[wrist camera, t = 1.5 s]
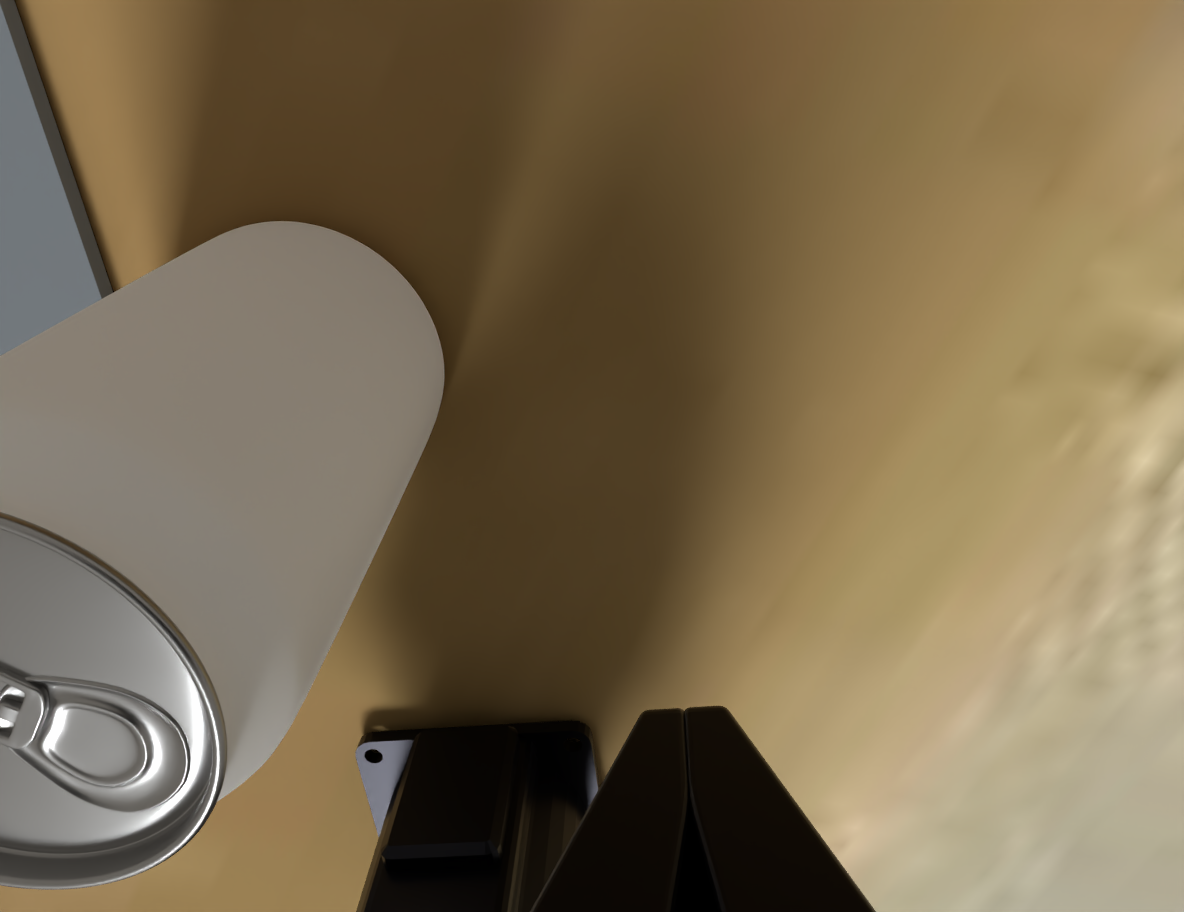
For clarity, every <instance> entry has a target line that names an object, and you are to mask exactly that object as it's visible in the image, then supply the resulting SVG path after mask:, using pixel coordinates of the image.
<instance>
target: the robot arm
mask: <svg viewBox="0 0 1184 912" xmlns="http://www.w3.org/2000/svg"><path fill="white" fill-rule="evenodd" d="M569 738H577V739H579V740H580V741H577V742H572V741H569V740H567V739H569ZM370 749H375V750H378V751H379V752H381V753H376V752H373V751H371V750H370ZM356 760H357V763H358V767H359V770H360V774H361V777H362V781H363V784H364V787H365V791H366V794H367V798H368V801H369V805H370V808H371V812H372V815H373V819H374V822H375V826H376V829H377V833H378V836H379V839H378V842H377V846H376V849H375V852H374V855H373V859H372V862H371V865H370V868H369V872H368V875H367V878H366V881H365V885H364V888H363V891H362V894H361V898H360V901H359V904H358V907H357V911H356V912H876V911H875V910H874V908H873V907H872V906H871V904H870V903H869V902H868V900H867V899H866V897H865V896H864V895H863V893H862V892H861V891H860V889H859V888H858V886H857V885H856V884H855V882H854V881H853V880H852V878H851V877H850V876H849V874H848V873H847V871H846V870H845V869H844V867H843V866H842V865H841V863H840V862H839V860H838V859H837V858H836V856H835V855H834V854H833V852H832V851H831V850H830V848H829V847H828V845H827V844H826V843H825V841H824V840H823V839H822V837H821V836H820V834H819V833H818V832H817V830H816V829H815V828H814V826H813V825H812V824H811V822H810V821H809V819H808V818H807V817H806V815H805V814H804V813H803V811H802V810H801V808H800V807H799V806H798V804H797V803H796V802H795V800H794V799H793V798H792V796H791V795H790V793H789V792H788V791H787V789H786V788H785V787H784V785H783V784H782V782H781V781H780V780H779V778H778V777H777V776H776V774H775V773H774V772H773V770H772V769H771V767H770V766H769V765H768V763H767V762H766V761H765V759H764V758H763V756H762V755H761V754H760V752H759V751H758V750H757V748H756V747H755V746H754V744H753V743H752V741H751V740H750V739H749V737H748V736H747V735H746V733H745V732H744V730H743V729H742V728H741V726H740V725H739V724H738V722H737V721H736V720H735V718H734V717H733V715H732V714H731V713H730V712H729V710H728V709H727V708H725V707H723V706H707V707H690V708H687V709H686V710H685V711H683V710H682V709H680V708H672V709H655V710H646V711H644V712H643V713H642V714H641V715H640V717H639V718H638V720H637V722H636V723H635V725H634V727H633V729H632V731H631V732H630V734H629V736H628V738H627V739H626V741H625V743H624V745H623V747H622V748H621V750H620V752H619V754H618V756H617V757H616V759H615V761H614V763H613V764H612V766H611V768H610V770H609V772H608V773H607V775H606V777H605V779H604V781H603V782H602V784H601V786H600V785H599V778H598V771H597V764H596V757H595V750H594V743H593V737H592V732H591V730H590V728H589V727H588V726H587V725H586V724H584V723H582V722H580V721H573V720H569V721H552V722H535V723H518V724H501V725H484V726H467V727H449V728H432V729H415V730H398V731H381V732H371V733H367V734H365V735H364V736H362V738H361V740H360V742H359V744H358V747H357V750H356Z"/></svg>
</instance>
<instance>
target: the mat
mask: <svg viewBox="0 0 1184 912" xmlns="http://www.w3.org/2000/svg"><path fill="white" fill-rule="evenodd" d="M112 293H113V291H112V288H111V285H110V282H109V279H108V276H107V273H106V270H105V267H104V264H103V261H102V258H101V255H100V252H99V249H98V246H97V243H96V240H95V237H94V234H93V231H92V229H91V226H90V223H89V220H88V217H87V214H86V211H85V208H84V205H83V202H82V199H81V196H80V193H79V190H78V187H77V184H76V181H75V178H74V175H73V172H72V169H71V166H70V163H69V160H68V158H67V155H66V152H65V149H64V146H63V143H62V140H61V137H60V134H59V131H58V128H57V125H56V122H55V119H54V116H53V113H52V110H51V107H50V104H49V101H48V98H47V95H46V92H45V89H44V87H43V84H42V81H41V78H40V75H39V72H38V69H37V66H36V63H35V60H34V57H33V54H32V51H31V48H30V45H29V42H28V39H27V36H26V33H25V30H24V27H23V24H22V21H21V19H20V16H19V13H18V10H17V7H16V4H15V1H14V0H0V356H1V355H3V354H5V353H6V352H8V351H10V350H12V349H13V348H15V347H17V346H19V345H21V344H22V343H24V342H26V341H28V340H29V339H31V338H33V337H35V336H37V335H38V334H40V333H42V332H44V331H45V330H47V329H49V328H51V327H53V326H54V325H56V324H58V323H60V322H62V321H63V320H65V319H67V318H69V317H70V316H72V315H74V314H76V313H78V312H79V311H81V310H83V309H85V308H87V307H88V306H90V305H92V304H94V303H95V302H97V301H99V300H101V299H103V298H104V297H106V296H108V295H110V294H112Z"/></svg>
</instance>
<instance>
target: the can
mask: <svg viewBox="0 0 1184 912" xmlns="http://www.w3.org/2000/svg"><path fill="white" fill-rule="evenodd" d="M443 389H444V360H443V353H442V348H441V344H440V340H439V337H438V334H437V331H436V328H435V326H434V323H433V321H432V319H431V316H430V314H429V312H428V310H427V309H426V307H425V305H424V303H423V302H422V300H421V299H420V297H419V296H418V294H417V293H416V291H415V290H414V289H413V287H412V286H411V285H410V284H409V282H408V281H407V280H406V279H405V278H404V277H403V276H402V275H401V274H400V273H399V272H398V270H397V269H395V268H394V267H393V266H392V265H391V264H390V263H389V262H388V261H386V260H385V259H384V258H383V257H381V256H380V255H379V254H377V253H376V252H375V251H373V250H372V249H370V248H369V247H367V246H365V245H364V244H362V243H360V242H358V241H357V240H355V239H353V238H351V237H348V236H346V235H344V234H342V233H339V232H337V231H334V230H331V229H328V228H325V227H321V226H317V225H312V224H307V223H301V222H290V221H271V222H262V223H255V224H250V225H246V226H243V227H239V228H236V229H233V230H231V231H228V232H225V233H223V234H221V235H219V236H217V237H215V238H213V239H211V240H209V241H207V242H205V243H203V244H201V245H199V246H197V247H195V248H194V249H192V250H190V251H188V252H186V253H184V254H182V255H180V256H179V257H177V258H175V259H173V260H171V261H170V262H168V263H166V264H164V265H162V266H160V267H159V268H157V269H155V270H153V271H151V272H150V273H148V274H146V275H144V276H142V277H140V278H139V279H137V280H135V281H133V282H131V283H130V284H128V285H126V286H124V287H122V288H121V289H119V290H117V291H115V292H113V293H112V294H110V295H108V296H106V297H104V298H103V299H101V300H99V301H97V302H95V303H94V304H92V305H90V306H88V307H87V308H85V309H83V310H81V311H79V312H78V313H76V314H74V315H72V316H70V317H69V318H67V319H65V320H63V321H62V322H60V323H58V324H56V325H54V326H53V327H51V328H49V329H47V330H45V331H44V332H42V333H40V334H38V335H37V336H35V337H33V338H31V339H29V340H28V341H26V342H24V343H22V344H21V345H19V346H17V347H15V348H13V349H12V350H10V351H8V352H6V353H5V354H3V355H1V356H0V885H2V886H9V887H17V888H27V889H75V888H85V887H92V886H98V885H103V884H108V883H112V882H116V881H119V880H123V879H126V878H129V877H132V876H135V875H137V874H140V873H142V872H144V871H147V870H149V869H151V868H153V867H155V866H157V865H158V864H160V863H162V862H163V861H165V860H167V859H168V858H170V857H171V856H173V855H174V854H175V853H177V852H178V851H179V850H180V849H182V848H183V847H184V846H185V845H186V844H187V843H188V842H189V841H190V840H191V839H192V838H193V837H194V836H195V835H196V834H197V833H198V832H199V830H200V829H201V828H202V826H203V825H204V824H205V822H206V821H207V819H208V818H209V816H210V814H211V812H212V811H213V809H214V807H215V805H216V802H217V801H219V800H220V799H222V798H223V797H224V796H226V795H227V794H229V793H230V792H232V791H233V790H234V789H236V788H237V787H238V786H240V785H241V784H242V783H244V782H245V781H246V780H247V779H248V778H249V777H250V776H252V775H253V774H254V773H255V772H256V771H257V770H258V769H259V768H260V767H261V766H262V765H263V764H264V763H265V762H266V761H267V760H268V759H269V757H270V756H271V755H272V753H273V752H274V751H275V749H276V748H277V746H278V745H279V743H280V742H281V740H282V739H283V737H284V736H285V734H286V733H287V731H288V730H289V728H290V726H291V725H292V723H293V721H294V719H295V717H296V715H297V713H298V711H299V709H300V708H301V706H302V704H303V702H304V700H305V698H306V696H307V694H308V692H309V690H310V688H311V686H312V684H313V682H314V680H315V678H316V676H317V674H318V672H319V670H320V668H321V666H322V664H323V662H324V659H325V657H326V655H327V653H328V651H329V649H330V647H331V645H332V643H333V641H334V639H335V637H336V635H337V633H338V630H339V628H340V626H341V624H342V622H343V620H344V618H345V616H346V614H347V612H348V610H349V608H350V605H351V603H352V601H353V599H354V597H355V595H356V593H357V591H358V589H359V587H360V585H361V582H362V580H363V578H364V576H365V574H366V572H367V570H368V568H369V566H370V563H371V561H372V559H373V557H374V555H375V553H376V551H377V549H378V547H379V545H380V542H381V540H382V538H383V536H384V534H385V532H386V530H387V528H388V525H389V523H390V521H391V519H392V517H393V515H394V513H395V511H396V508H397V506H398V504H399V502H400V500H401V498H402V496H403V494H404V491H405V489H406V487H407V485H408V483H409V481H410V478H411V476H412V474H413V472H414V470H415V468H416V466H417V463H418V461H419V459H420V457H421V455H422V452H423V450H424V448H425V446H426V443H427V441H428V439H429V437H430V434H431V432H432V429H433V427H434V424H435V421H436V418H437V415H438V412H439V408H440V404H441V400H442V395H443Z"/></svg>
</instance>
